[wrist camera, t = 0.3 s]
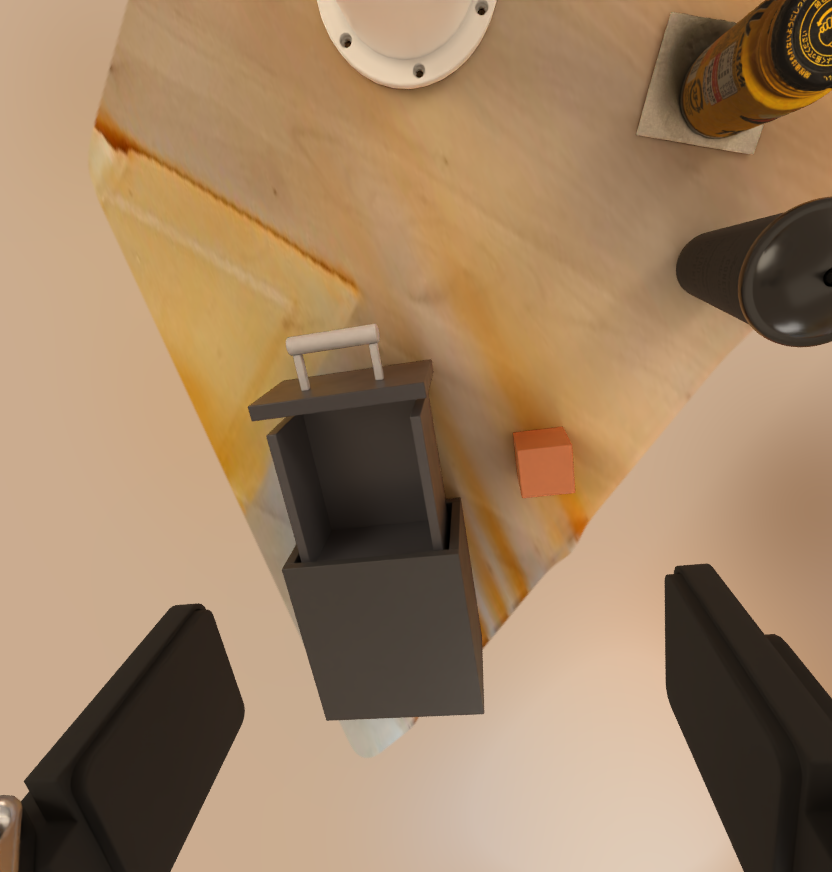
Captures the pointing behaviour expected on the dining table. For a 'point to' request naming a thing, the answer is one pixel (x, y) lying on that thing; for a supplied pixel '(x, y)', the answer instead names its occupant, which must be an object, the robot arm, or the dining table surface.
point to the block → (544, 462)
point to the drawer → (357, 454)
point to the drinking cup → (769, 273)
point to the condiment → (738, 73)
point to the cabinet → (392, 630)
